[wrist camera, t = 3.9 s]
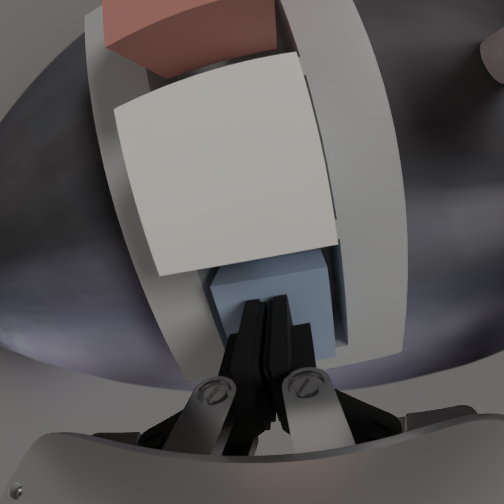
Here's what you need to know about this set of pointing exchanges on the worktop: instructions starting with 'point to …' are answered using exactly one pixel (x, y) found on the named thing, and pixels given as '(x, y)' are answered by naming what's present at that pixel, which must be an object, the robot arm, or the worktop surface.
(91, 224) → the worktop surface
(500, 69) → the smoothie
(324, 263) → the blue key
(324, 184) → the white key
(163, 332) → the keypad housing
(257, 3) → the red key
